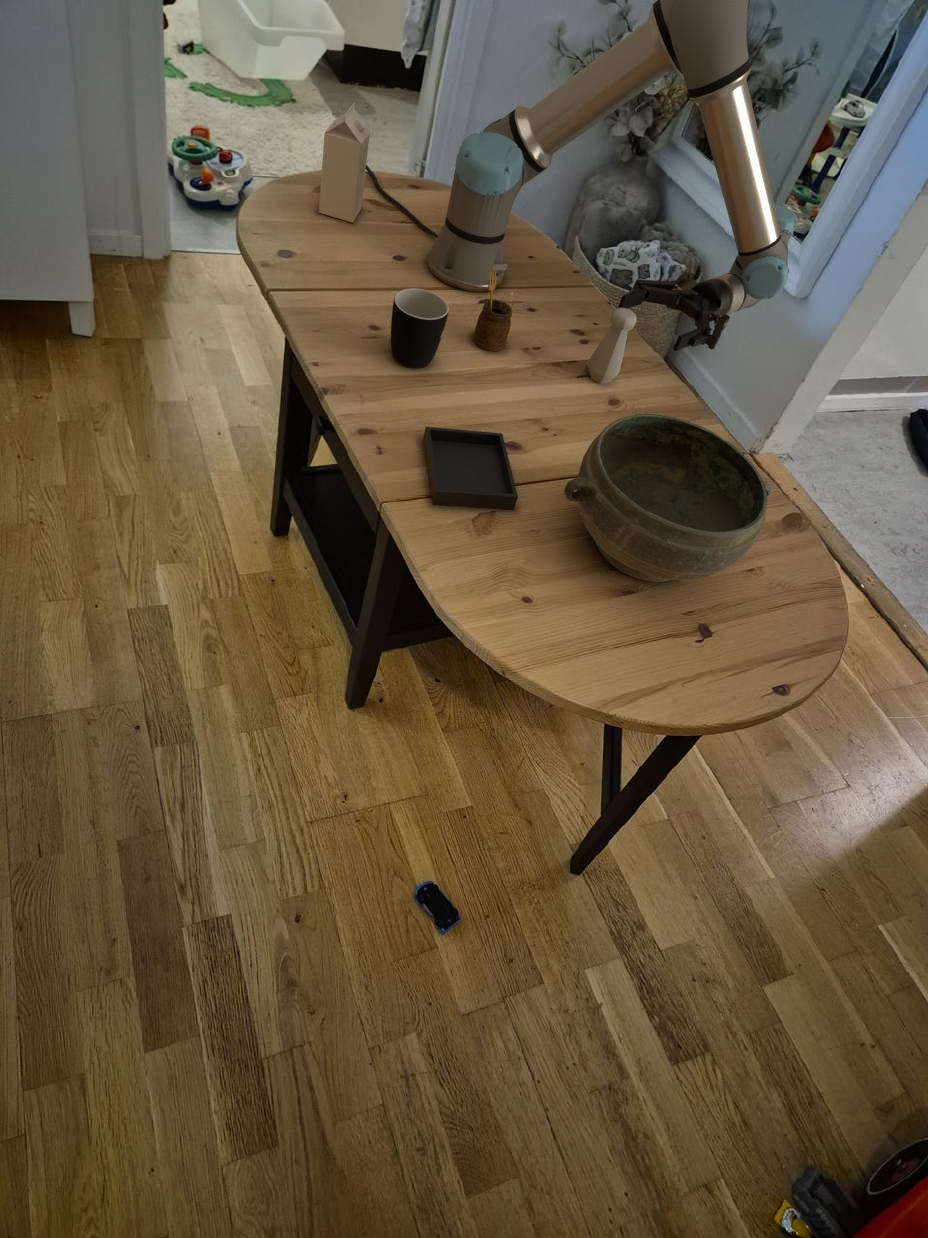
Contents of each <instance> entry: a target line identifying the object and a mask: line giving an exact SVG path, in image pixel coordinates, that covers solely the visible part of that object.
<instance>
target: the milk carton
mask: <svg viewBox="0 0 928 1238" xmlns="http://www.w3.org/2000/svg"><path fill="white" fill-rule="evenodd" d="M355 107H356V102H353V103H352V104H351V106H350V107H349V108H348V109H347V110H346V112H345V113H344V114H343V115H341V116H339V117H337V118H336V119H334V120H333V122H332V123H331V124H330V125H329V126H328V128H327V129H326V130H325V131H324V134H323V150H322V163H321V174H320V175H321V176H320V190H319V202H318V203H319V204H318V213H319V214H322V215H324V216H325V215H326V216H329V217H332V218H336V219H339V220H342V221H346V222H349V223H354V222H355V220H356V218H357V217H358V215H359V213H360V211H361V210H362V204H363V195H364V187H365V178H366V171H367V170H366V165H367V163H368V153H369V143H370V137H371V136H370V134H371V130H370V129H369V127H368V126H367V125H366V123H365V121H364V120H363V119H362V117H361V116H360V114H359V113H358V112H357V110H356V109H355Z"/></svg>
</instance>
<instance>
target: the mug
mask: <svg viewBox="0 0 928 1238" xmlns="http://www.w3.org/2000/svg"><path fill="white" fill-rule="evenodd" d="M448 316H449V304H448V303H447V301H446V300H445V299H444V298H443V297H442V296H441V295H438V294H437V293H435V292H433V291H430V290H427V289H423V288H414V287H412V288H405V289H402V290H399V291H398V292H396V293H395V295H394V298H393V302H392V309H391V319H390V323H391V324H390V350H391V353H392V357H393V358H394V360H395V361H396V362H397V363H398V364H400V365H401V366H403V367H406V368H408V369H409V368H410V369H423V368H426V367H427V366H428V365H430V364H431V362H432V361H433V359H434V358H435V356H436V354H437V352H438V349H439V347H440V343H441V341H442V337H443V334H444V331H445V328H446V325H447V322H448V321H447V320H448Z"/></svg>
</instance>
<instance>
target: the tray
mask: <svg viewBox="0 0 928 1238" xmlns="http://www.w3.org/2000/svg"><path fill="white" fill-rule="evenodd" d="M423 432H424V433H423V435H422V436H423V437H422V443H423V452H424V458H425V464H426V470H427V471H426V472H427V477H428V482H429V489H430V496H431V502H432V505H434V506H435V505H436V506H450V507H467V508H483V509H497V510H511V511H513V510H514V509H515V506H516V504H517V501H518V498H519V495H518V490H517V488H516V482H515V479H514V475H513V470H512V467H511V463H510V459H509V458H510V457H509V455H508V454H509V453H508V450H507V446H506V442H505V439H504V435H503V433H502V432H492V431H491V432H490V431H481V430H467V429H456V428H447V427H446V428H445V427H437V426H436V427H435V426H425V428H424V431H423Z"/></svg>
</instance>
